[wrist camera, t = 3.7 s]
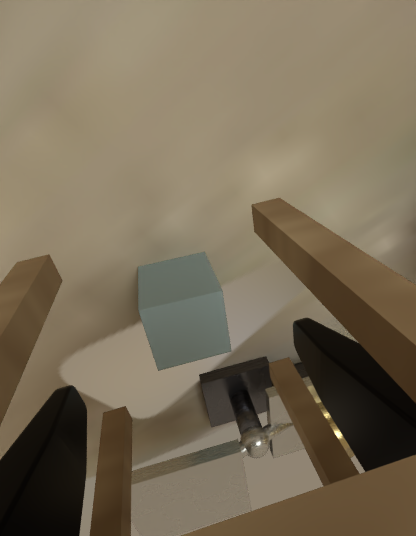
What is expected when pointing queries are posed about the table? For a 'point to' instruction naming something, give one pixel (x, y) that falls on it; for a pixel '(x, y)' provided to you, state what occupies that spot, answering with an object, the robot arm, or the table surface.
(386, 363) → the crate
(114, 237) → the table surface
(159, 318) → the block
